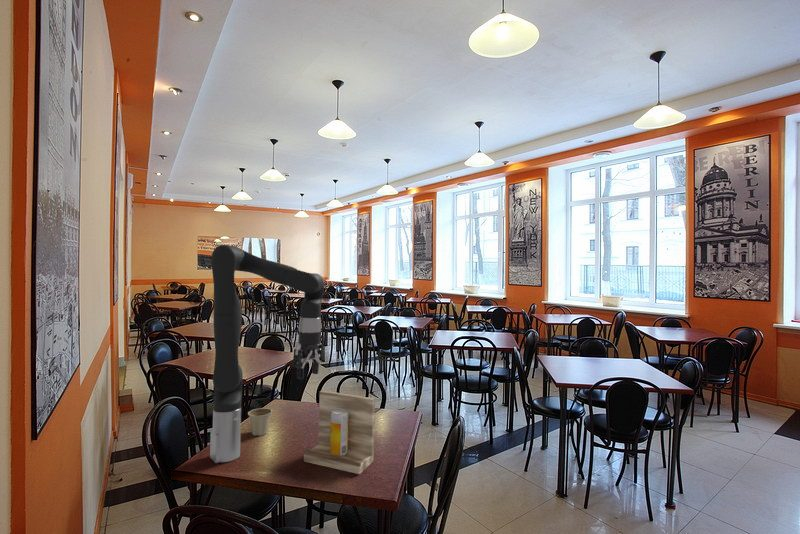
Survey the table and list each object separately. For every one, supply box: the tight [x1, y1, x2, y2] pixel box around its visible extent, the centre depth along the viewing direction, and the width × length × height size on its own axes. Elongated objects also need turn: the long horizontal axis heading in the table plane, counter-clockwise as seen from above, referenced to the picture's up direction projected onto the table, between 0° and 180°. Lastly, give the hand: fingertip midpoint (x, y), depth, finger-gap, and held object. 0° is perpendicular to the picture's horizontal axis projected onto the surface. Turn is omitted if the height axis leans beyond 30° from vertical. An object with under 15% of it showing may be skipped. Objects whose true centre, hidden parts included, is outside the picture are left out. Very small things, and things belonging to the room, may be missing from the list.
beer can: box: [330, 409, 348, 457], centre depth 144 cm, size 6×6×15 cm
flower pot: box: [247, 407, 273, 437], centre depth 167 cm, size 9×9×9 cm
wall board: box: [303, 390, 376, 475], centre depth 144 cm, size 11×22×22 cm, turn 68°
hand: (307, 376), depth 143 cm, fingers open, 8 cm apart
